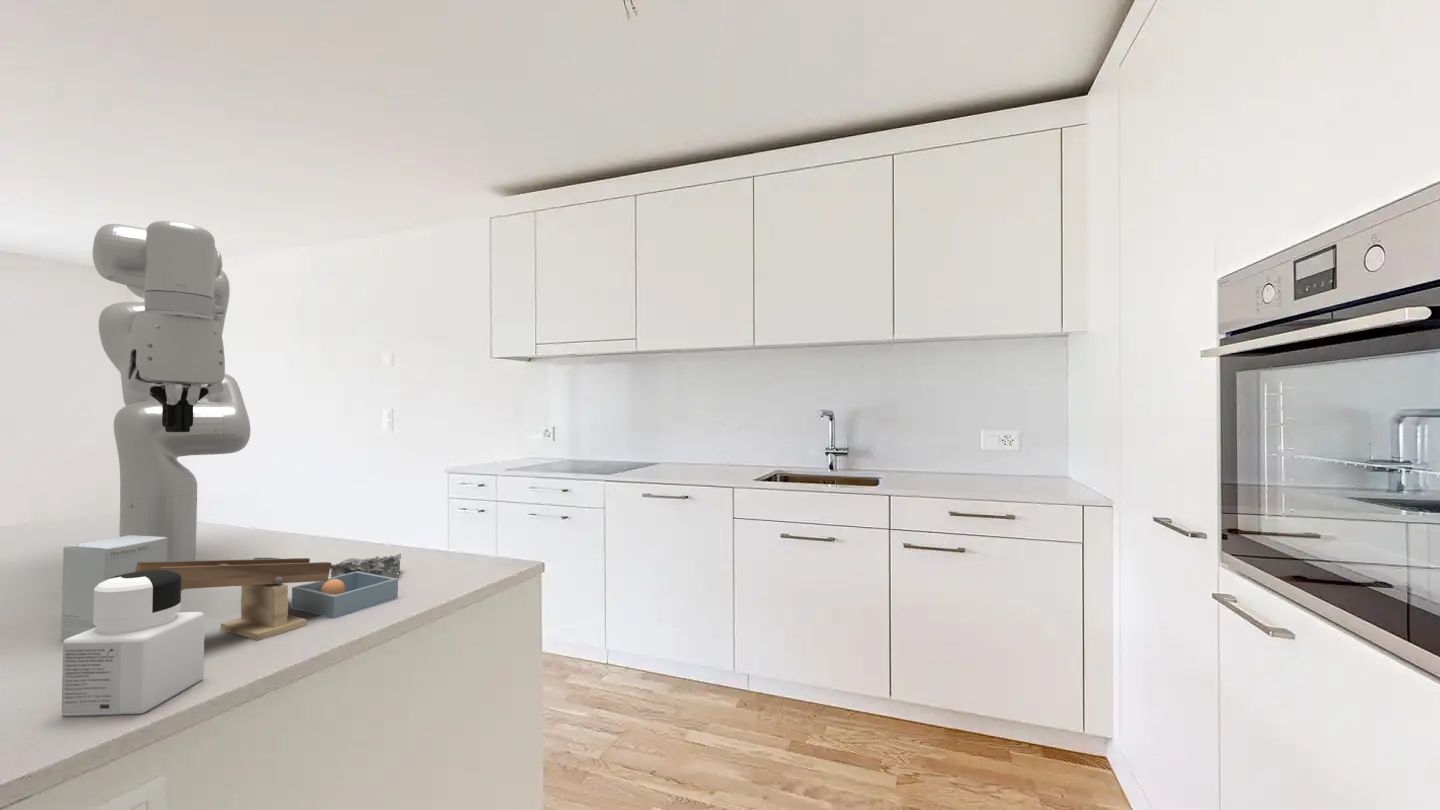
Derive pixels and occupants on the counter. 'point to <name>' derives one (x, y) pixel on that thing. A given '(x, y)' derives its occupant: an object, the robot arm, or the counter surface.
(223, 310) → the robot arm
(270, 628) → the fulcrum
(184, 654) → the container
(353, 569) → the egg carton
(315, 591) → the dish
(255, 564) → the lever
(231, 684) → the counter surface
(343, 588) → the ball
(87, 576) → the supplement box
